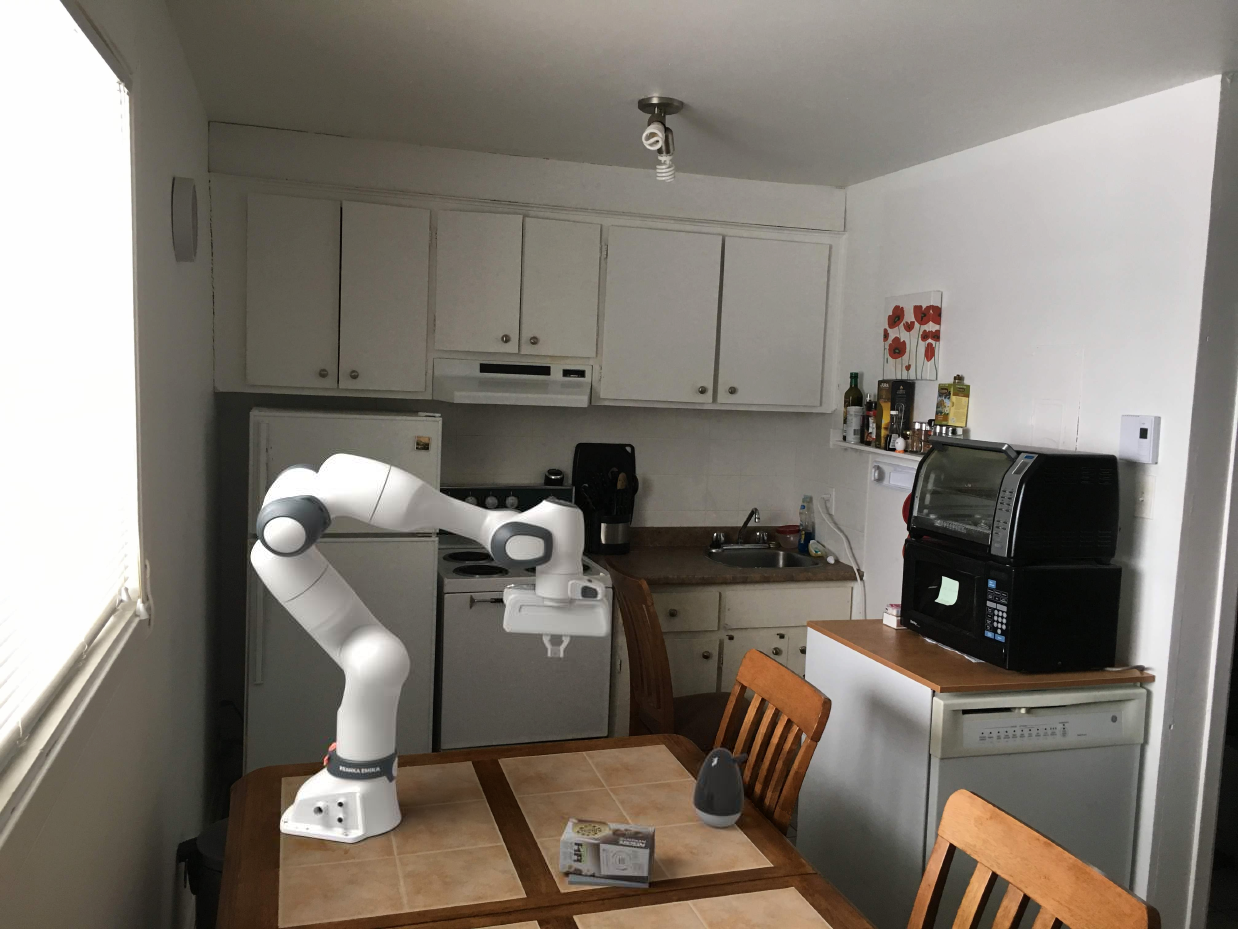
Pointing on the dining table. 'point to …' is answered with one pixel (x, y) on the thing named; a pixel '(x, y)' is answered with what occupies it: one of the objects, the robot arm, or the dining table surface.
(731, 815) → the pump dispenser
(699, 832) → the dining table surface
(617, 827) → the coffee box
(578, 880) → the mat
